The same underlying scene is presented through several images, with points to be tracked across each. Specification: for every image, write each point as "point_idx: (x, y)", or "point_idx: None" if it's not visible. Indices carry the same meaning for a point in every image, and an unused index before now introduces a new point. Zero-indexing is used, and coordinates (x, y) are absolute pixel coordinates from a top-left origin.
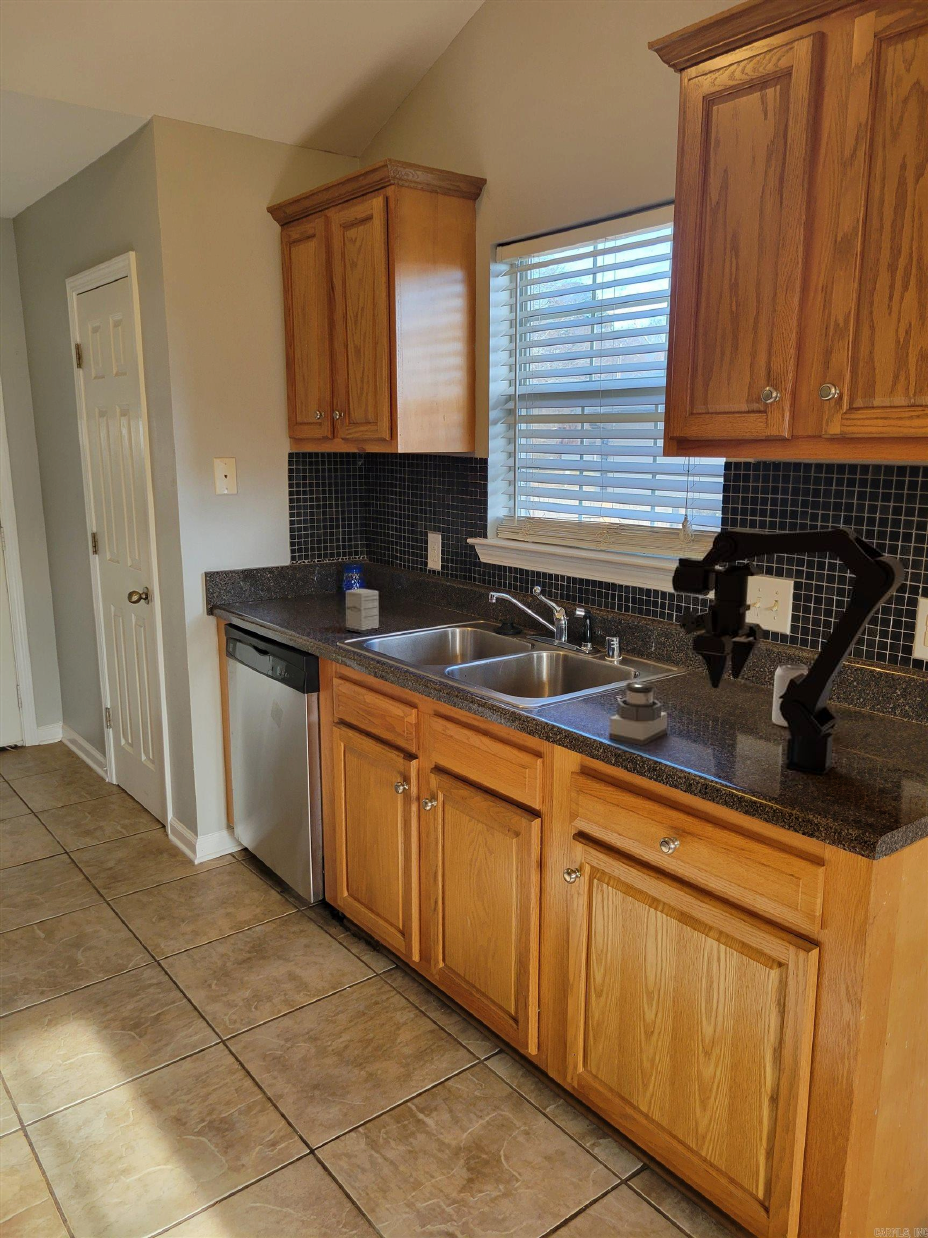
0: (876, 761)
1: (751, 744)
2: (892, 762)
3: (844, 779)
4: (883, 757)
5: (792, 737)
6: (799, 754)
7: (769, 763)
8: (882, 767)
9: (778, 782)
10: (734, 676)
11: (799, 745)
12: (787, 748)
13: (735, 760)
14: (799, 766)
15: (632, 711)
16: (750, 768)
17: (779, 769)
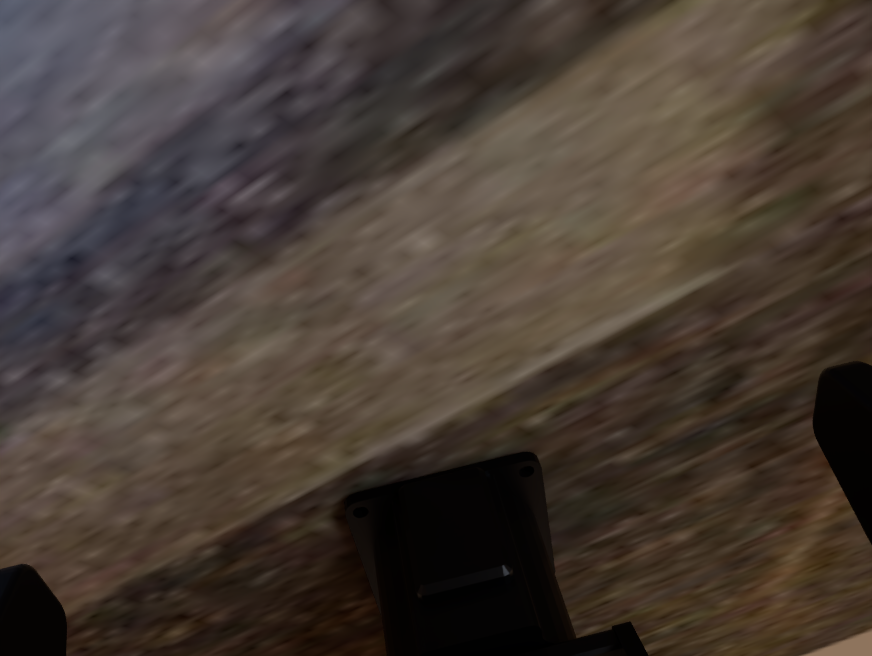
0: (736, 595)
1: (604, 161)
2: (760, 621)
3: None
4: (807, 583)
5: (413, 630)
6: (383, 598)
7: (343, 420)
8: (672, 634)
9: (128, 579)
10: (831, 413)
11: (389, 641)
12: (409, 543)
13: (213, 295)
14: (374, 549)
15: None
16: (172, 417)
17: (301, 490)
